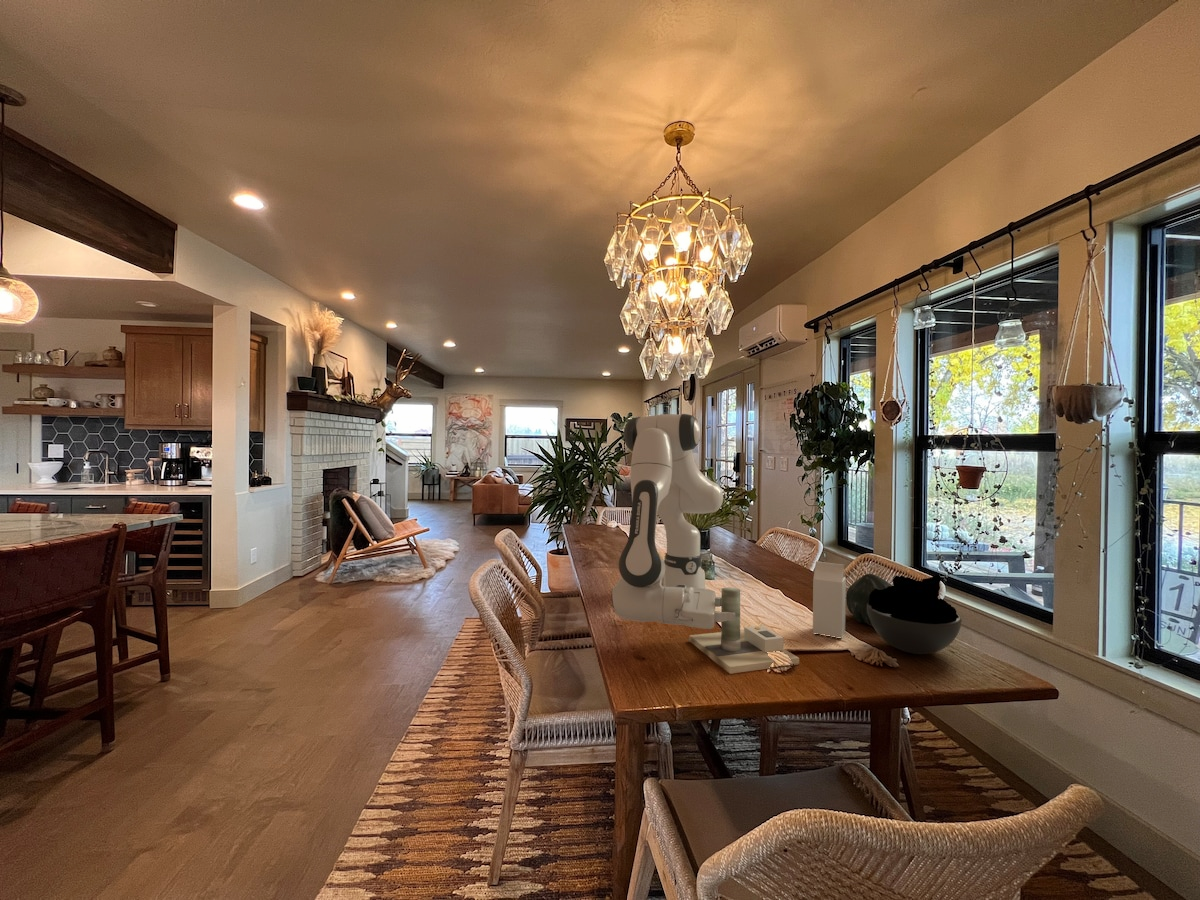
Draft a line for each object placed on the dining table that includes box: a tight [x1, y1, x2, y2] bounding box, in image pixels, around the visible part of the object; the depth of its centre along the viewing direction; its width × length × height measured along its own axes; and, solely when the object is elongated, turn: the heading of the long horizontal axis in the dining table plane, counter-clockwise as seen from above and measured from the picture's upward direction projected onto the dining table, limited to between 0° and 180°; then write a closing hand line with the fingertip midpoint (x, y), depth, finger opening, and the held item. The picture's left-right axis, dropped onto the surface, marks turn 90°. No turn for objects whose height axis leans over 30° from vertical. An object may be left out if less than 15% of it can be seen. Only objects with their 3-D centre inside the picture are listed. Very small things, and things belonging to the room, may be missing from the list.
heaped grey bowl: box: [867, 574, 963, 655], centre depth 129 cm, size 20×20×19 cm
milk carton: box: [812, 561, 847, 639], centre depth 141 cm, size 7×7×19 cm
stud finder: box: [743, 624, 784, 652], centre depth 129 cm, size 9×5×3 cm, turn 17°
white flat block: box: [688, 629, 800, 675], centre depth 128 cm, size 20×18×2 cm
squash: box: [845, 573, 893, 626], centre depth 151 cm, size 14×15×15 cm
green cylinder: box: [720, 587, 741, 652], centre depth 126 cm, size 5×5×14 cm
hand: (734, 610), depth 126 cm, fingers open, 8 cm apart
